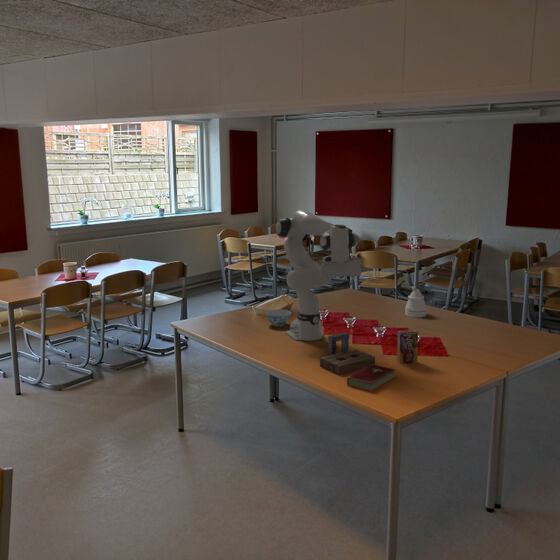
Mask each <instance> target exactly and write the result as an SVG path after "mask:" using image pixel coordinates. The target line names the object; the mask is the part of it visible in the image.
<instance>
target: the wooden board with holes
mask: <svg viewBox="0 0 560 560" xmlns="http://www.w3.org/2000/svg"><path fill="white" fill-rule="evenodd" d="M372 364H374V365H376V356H374V355H371V354H369V353H367V352H365V351H362V350H360V349H356V348H355V349H352V350H351V349H350V350H349V351H346V352H342V353H341V352H339V353H336V354H334V355H330V356H329V355H326V356H322V357H319V366H320V367H321V368H324V369H326V370H328V371H331V372H333V374H336V375H342V374H347V373H350V372H355V371H356V370H360V369H361V370H363V369H365V368H366V367H368V366H370V365H372Z"/></svg>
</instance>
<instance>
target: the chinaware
mask: <svg viewBox="0 0 560 560" xmlns="http://www.w3.org/2000/svg"><path fill="white" fill-rule="evenodd" d="M265 314H266V318H267V319H268V321H269V322H270V323H271V324H272V325H273V327H277V326H280V327H284V326H285V324H287V323H288V322H289V320H290V318H291V316H292V311H290V310H288V309H272V310H268V311H266V312H265Z"/></svg>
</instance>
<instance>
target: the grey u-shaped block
mask: <svg viewBox="0 0 560 560" xmlns="http://www.w3.org/2000/svg"><path fill="white" fill-rule="evenodd" d="M327 337H328V338H327V340H328V356H330V355H334V354H337V342H341V343H340V345H341V347H340V348H341V351H340V353H342V352H346V351H350V349H349V348H350V347H349V344H350V343H349V341H350V340H349V339H350V333H348V332H342V333H337V334H332V335H328V336H327Z"/></svg>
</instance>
